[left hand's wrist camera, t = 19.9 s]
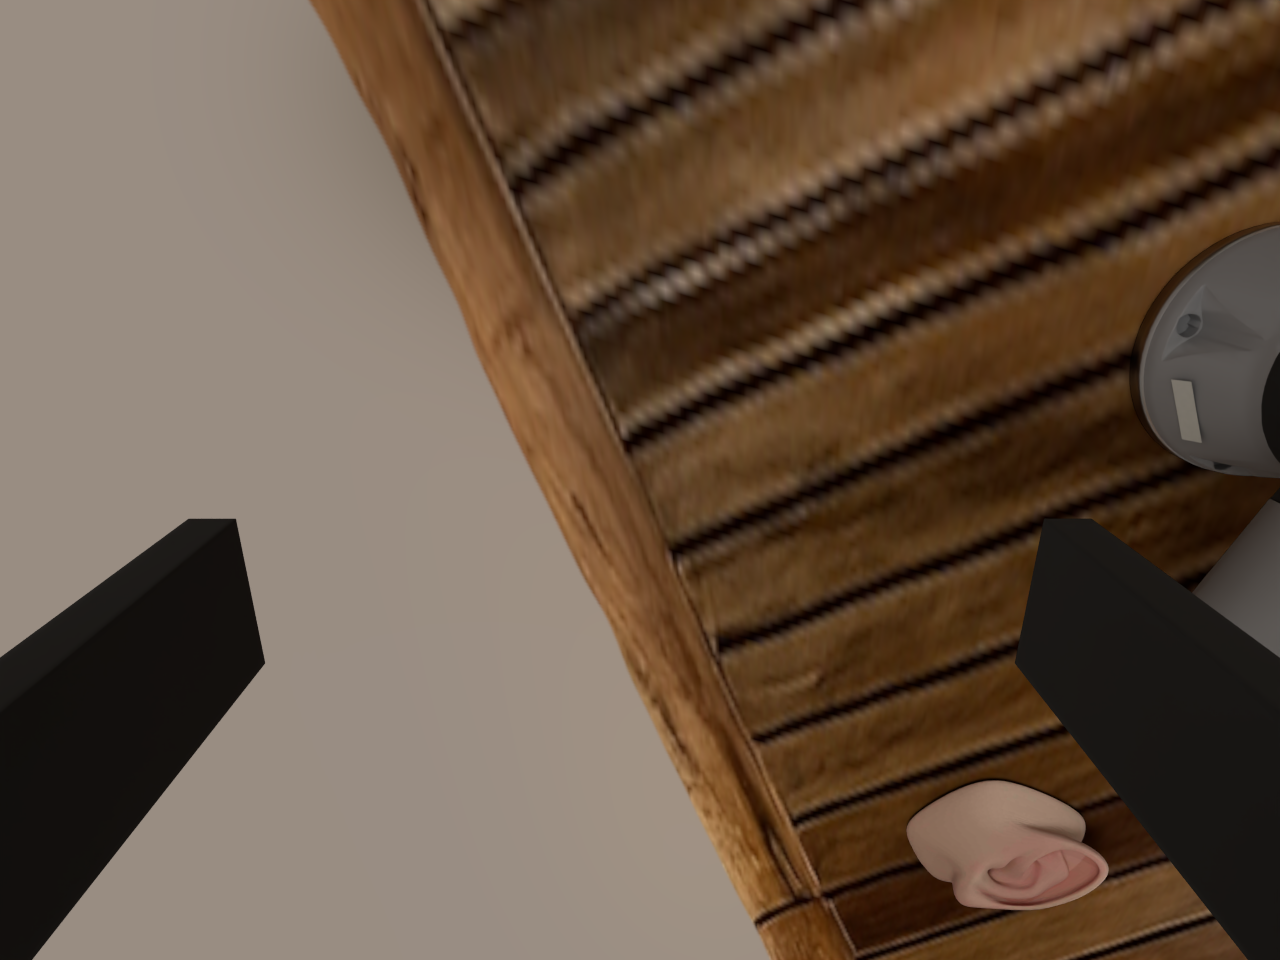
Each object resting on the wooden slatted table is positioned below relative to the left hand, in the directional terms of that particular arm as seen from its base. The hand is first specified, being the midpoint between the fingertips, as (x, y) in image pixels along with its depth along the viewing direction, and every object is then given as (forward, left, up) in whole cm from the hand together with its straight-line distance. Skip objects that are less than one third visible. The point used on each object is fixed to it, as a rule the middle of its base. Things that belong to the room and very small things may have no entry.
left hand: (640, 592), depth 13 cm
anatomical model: (-5, +51, -36) cm, 63 cm away
